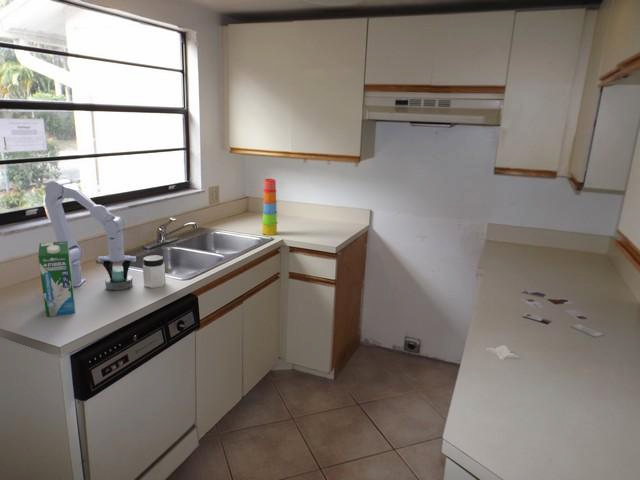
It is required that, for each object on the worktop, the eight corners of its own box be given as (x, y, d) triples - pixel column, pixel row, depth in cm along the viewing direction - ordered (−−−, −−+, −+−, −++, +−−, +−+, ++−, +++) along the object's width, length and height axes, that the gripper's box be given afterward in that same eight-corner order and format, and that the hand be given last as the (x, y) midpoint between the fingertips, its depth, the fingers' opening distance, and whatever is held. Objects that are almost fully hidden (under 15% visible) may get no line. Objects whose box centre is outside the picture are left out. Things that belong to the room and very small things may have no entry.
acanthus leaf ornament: (485, 351, 148) (486, 346, 148) (501, 348, 151) (502, 343, 151) (502, 362, 142) (503, 357, 141) (518, 359, 144) (519, 353, 144)
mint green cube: (110, 283, 185) (109, 273, 183) (114, 279, 189) (113, 269, 188) (122, 283, 185) (122, 273, 184) (126, 279, 190) (126, 269, 189)
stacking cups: (281, 233, 283) (282, 179, 274) (269, 236, 276) (270, 180, 266) (269, 230, 290) (270, 177, 280) (258, 233, 282) (258, 178, 273)
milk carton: (46, 316, 158) (37, 249, 152) (47, 307, 166) (39, 242, 159) (75, 312, 162) (67, 247, 156) (75, 303, 170) (68, 240, 163)
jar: (146, 289, 186) (144, 262, 183) (141, 283, 193) (140, 256, 190) (168, 285, 191) (166, 259, 188) (163, 279, 198) (161, 254, 195)
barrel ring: (102, 291, 183) (101, 283, 182) (110, 282, 192) (109, 274, 191) (128, 290, 184) (128, 283, 183) (135, 282, 194) (134, 274, 193)
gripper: (94, 249, 179) (97, 281, 182) (132, 249, 181) (134, 280, 184) (99, 244, 185) (102, 275, 189) (136, 244, 187) (138, 275, 191)
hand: (118, 277), depth 187 cm, fingers closed on mint green cube, 5 cm apart
